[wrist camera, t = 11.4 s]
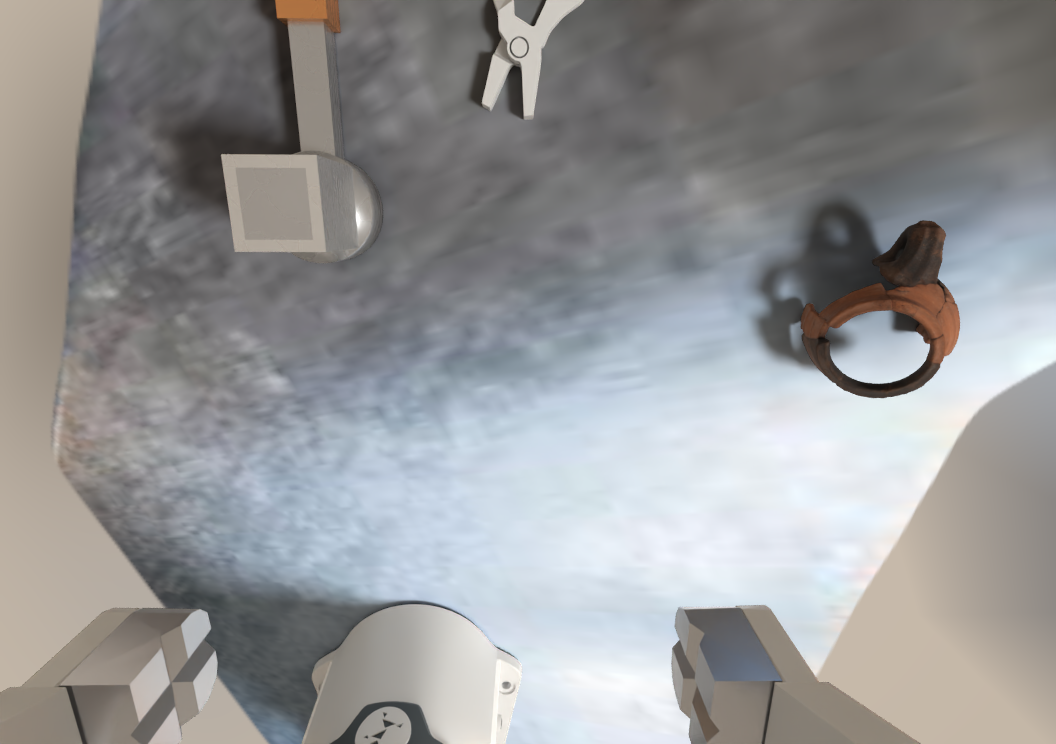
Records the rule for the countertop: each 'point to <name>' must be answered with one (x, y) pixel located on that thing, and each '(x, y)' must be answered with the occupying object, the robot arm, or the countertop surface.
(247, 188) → the white open box
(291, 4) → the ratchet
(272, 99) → the countertop surface
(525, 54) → the pliers
